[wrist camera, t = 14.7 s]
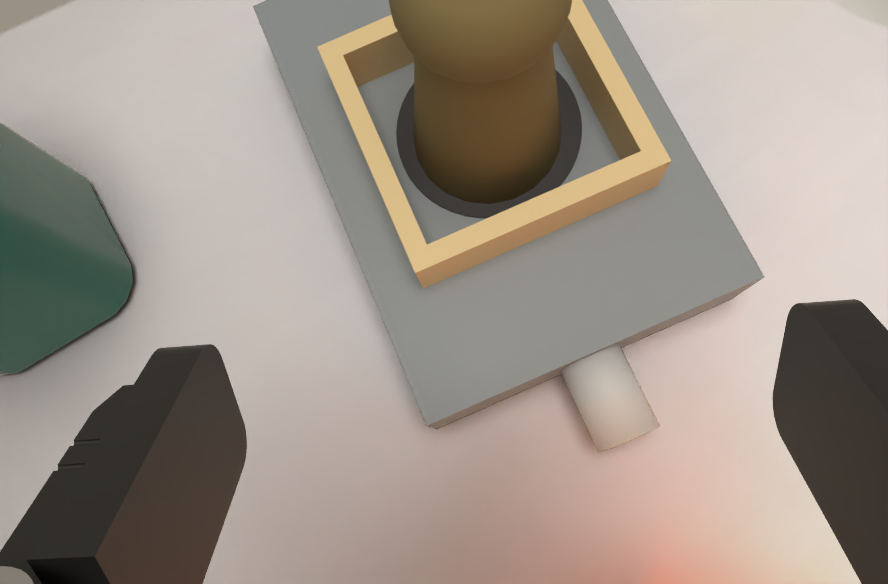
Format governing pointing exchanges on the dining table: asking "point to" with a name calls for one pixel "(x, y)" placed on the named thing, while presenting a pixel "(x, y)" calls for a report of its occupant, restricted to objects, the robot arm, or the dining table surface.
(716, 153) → the dining table surface
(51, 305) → the pitcher
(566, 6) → the cork
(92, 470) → the robot arm
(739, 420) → the dining table surface
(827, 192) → the dining table surface
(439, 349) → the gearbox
